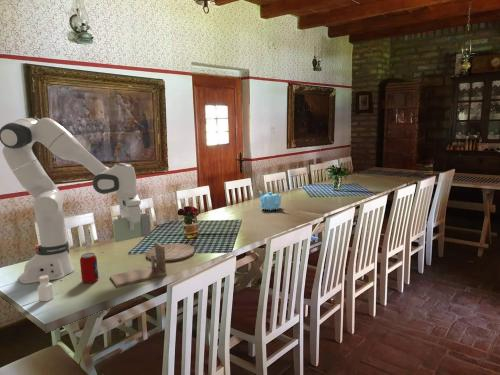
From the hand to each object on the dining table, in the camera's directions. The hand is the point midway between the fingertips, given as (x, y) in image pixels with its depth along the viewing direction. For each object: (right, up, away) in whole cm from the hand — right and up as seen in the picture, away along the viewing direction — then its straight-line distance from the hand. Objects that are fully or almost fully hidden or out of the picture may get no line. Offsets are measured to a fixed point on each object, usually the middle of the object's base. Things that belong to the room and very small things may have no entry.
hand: (130, 228), depth 172 cm
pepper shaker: (-26, -26, -23) cm, 43 cm away
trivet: (+13, -17, +27) cm, 34 cm away
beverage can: (-16, -23, -6) cm, 28 cm away
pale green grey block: (+1, -4, +1) cm, 5 cm away
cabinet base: (+4, -21, -2) cm, 22 cm away
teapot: (+71, +1, +121) cm, 140 cm away
